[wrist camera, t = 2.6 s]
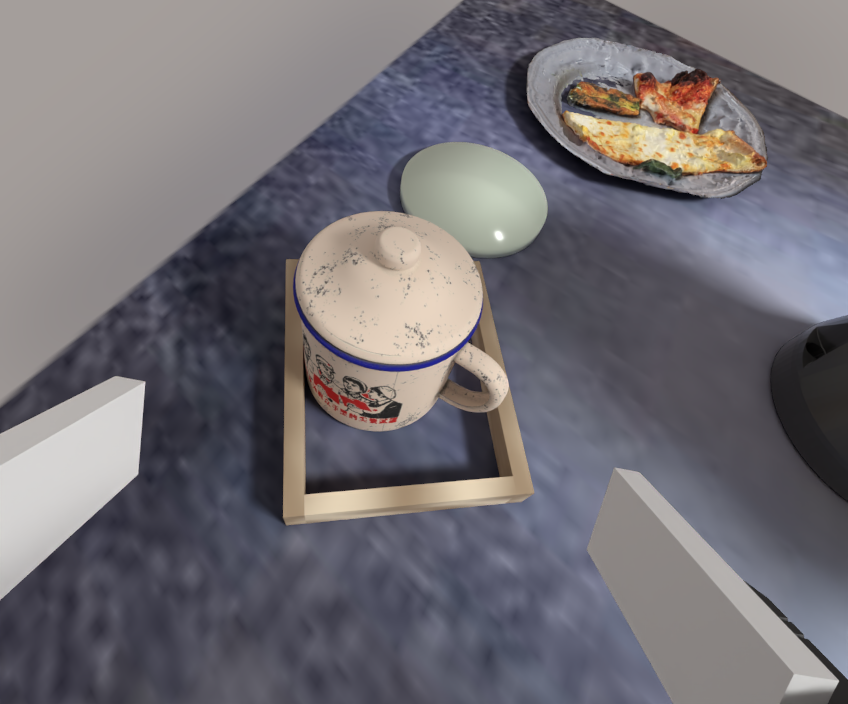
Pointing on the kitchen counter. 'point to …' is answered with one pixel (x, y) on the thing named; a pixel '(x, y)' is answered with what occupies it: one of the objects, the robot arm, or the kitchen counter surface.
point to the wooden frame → (400, 498)
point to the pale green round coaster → (475, 197)
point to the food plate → (647, 118)
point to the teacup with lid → (391, 321)
